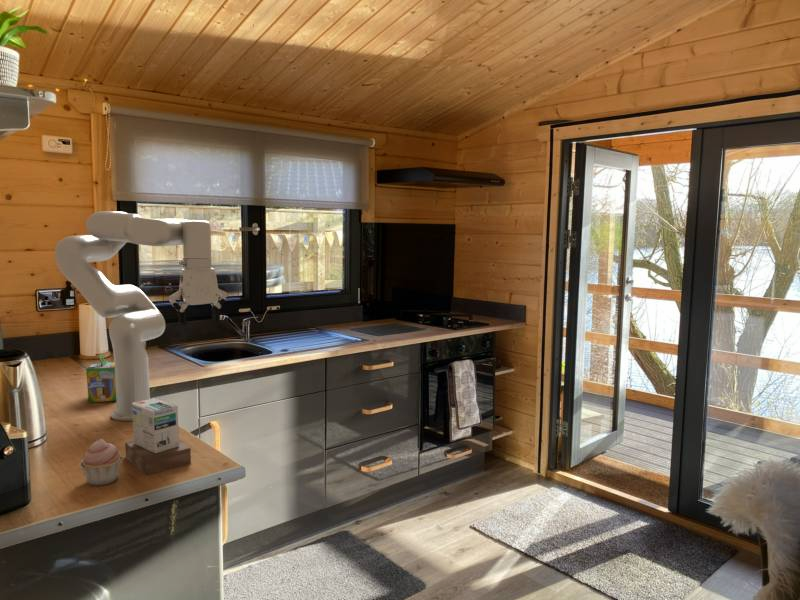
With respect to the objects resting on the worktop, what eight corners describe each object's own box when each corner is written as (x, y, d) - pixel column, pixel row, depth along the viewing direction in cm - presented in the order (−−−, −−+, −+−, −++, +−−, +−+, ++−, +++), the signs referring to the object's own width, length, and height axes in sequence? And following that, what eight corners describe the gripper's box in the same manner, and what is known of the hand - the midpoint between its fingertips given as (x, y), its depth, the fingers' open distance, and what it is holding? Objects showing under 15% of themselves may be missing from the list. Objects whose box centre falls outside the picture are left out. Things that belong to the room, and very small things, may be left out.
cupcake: (131, 472, 151) (130, 432, 150) (112, 489, 142) (110, 447, 140) (93, 471, 151) (91, 431, 150) (72, 488, 142) (69, 445, 141)
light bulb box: (180, 446, 157) (178, 405, 156) (155, 454, 152) (153, 411, 150) (157, 436, 164) (155, 396, 162) (132, 444, 158) (130, 402, 157)
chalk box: (117, 401, 206) (115, 357, 204) (87, 403, 204) (85, 358, 202) (123, 393, 215) (121, 351, 213) (94, 395, 213) (92, 352, 211)
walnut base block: (125, 457, 160) (125, 442, 159) (168, 447, 167) (168, 432, 167) (146, 475, 150) (145, 459, 149) (190, 463, 157) (190, 448, 156)
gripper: (173, 266, 170) (175, 328, 172) (232, 263, 181) (233, 322, 184) (162, 264, 175) (164, 324, 178) (220, 261, 187) (221, 318, 189)
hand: (199, 323), depth 181 cm, fingers open, 9 cm apart
